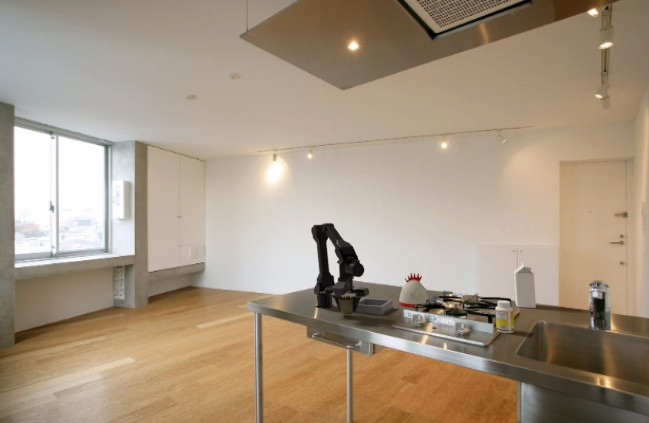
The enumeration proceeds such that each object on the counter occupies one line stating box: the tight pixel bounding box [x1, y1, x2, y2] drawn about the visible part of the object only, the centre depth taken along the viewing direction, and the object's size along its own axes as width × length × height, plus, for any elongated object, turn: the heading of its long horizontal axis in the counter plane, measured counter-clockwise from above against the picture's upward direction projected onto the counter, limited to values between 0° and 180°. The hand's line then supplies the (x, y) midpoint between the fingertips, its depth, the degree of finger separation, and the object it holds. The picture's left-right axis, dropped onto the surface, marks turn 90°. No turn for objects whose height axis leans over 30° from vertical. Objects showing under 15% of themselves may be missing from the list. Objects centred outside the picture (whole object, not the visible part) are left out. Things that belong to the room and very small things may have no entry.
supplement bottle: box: [494, 300, 515, 334], centre depth 122 cm, size 6×6×10 cm
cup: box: [338, 295, 354, 318], centre depth 149 cm, size 8×7×8 cm
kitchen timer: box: [398, 272, 430, 309], centre depth 167 cm, size 14×14×15 cm
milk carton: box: [513, 262, 537, 309], centre depth 156 cm, size 7×7×19 cm
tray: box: [352, 297, 394, 316], centre depth 158 cm, size 14×14×4 cm
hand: (347, 311), depth 149 cm, fingers closed on cup, 6 cm apart
